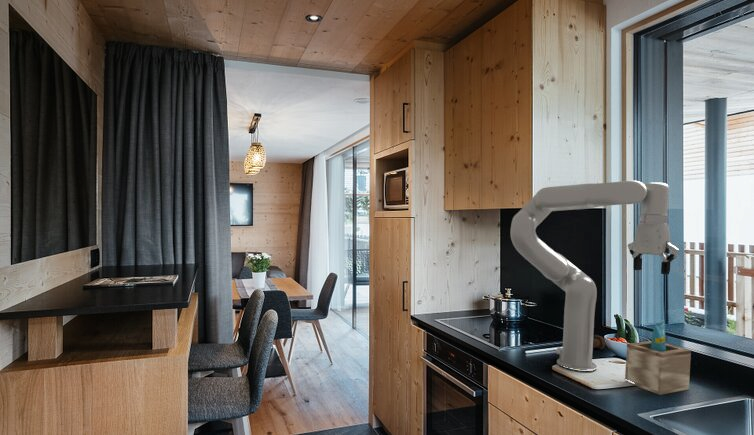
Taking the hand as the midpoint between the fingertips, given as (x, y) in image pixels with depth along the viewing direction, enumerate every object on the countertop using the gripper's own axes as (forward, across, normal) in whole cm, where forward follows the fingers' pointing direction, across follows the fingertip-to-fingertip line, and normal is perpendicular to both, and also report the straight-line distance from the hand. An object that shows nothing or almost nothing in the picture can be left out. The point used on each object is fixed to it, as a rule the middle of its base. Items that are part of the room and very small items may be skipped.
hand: (650, 271), depth 159 cm
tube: (+34, +8, -6) cm, 35 cm away
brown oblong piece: (+35, -28, +4) cm, 45 cm away
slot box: (+34, +8, -6) cm, 36 cm away
